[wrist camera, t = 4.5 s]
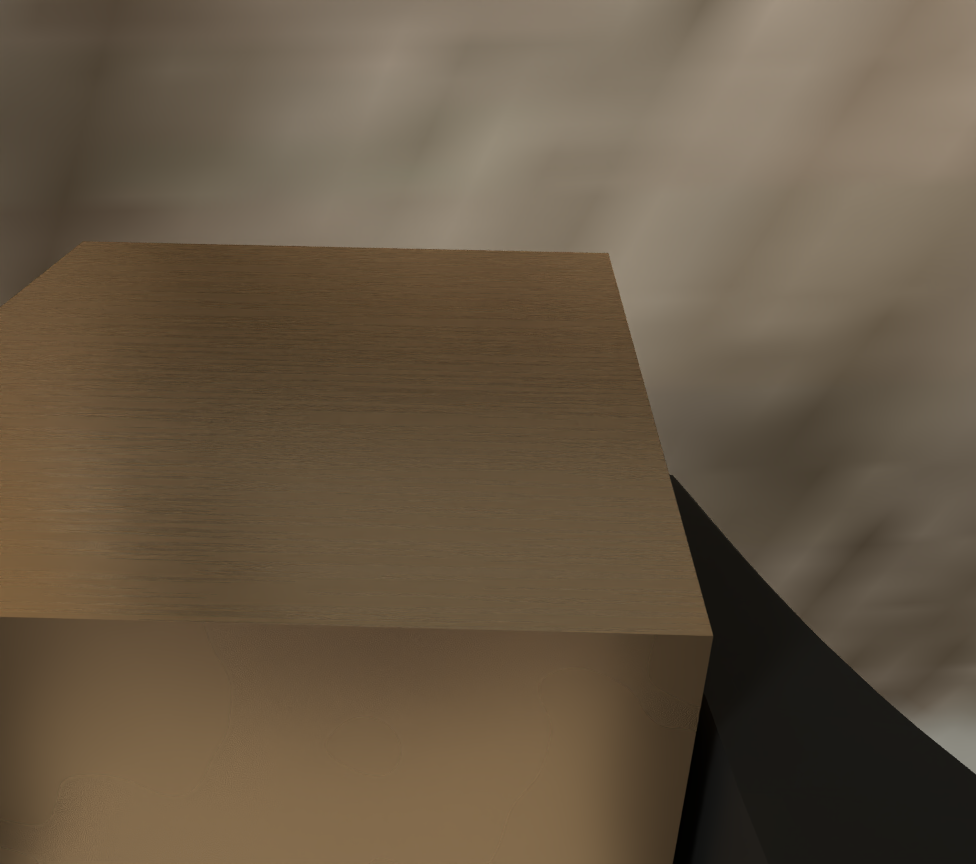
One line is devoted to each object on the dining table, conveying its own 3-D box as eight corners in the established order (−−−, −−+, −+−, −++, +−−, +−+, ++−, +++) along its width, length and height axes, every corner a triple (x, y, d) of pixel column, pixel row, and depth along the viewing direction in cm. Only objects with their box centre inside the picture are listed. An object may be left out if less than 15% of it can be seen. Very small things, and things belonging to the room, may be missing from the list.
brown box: (575, 650, 12) (618, 1163, 7) (164, 639, 12) (-72, 1141, 7) (607, 253, 9) (714, 635, 4) (83, 241, 9) (-375, 607, 4)
